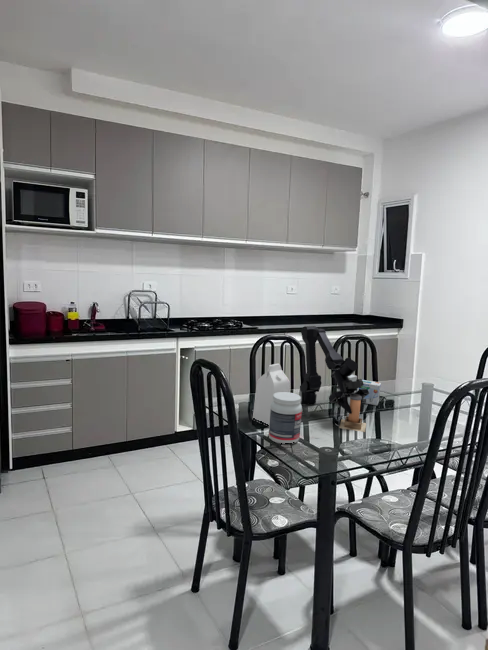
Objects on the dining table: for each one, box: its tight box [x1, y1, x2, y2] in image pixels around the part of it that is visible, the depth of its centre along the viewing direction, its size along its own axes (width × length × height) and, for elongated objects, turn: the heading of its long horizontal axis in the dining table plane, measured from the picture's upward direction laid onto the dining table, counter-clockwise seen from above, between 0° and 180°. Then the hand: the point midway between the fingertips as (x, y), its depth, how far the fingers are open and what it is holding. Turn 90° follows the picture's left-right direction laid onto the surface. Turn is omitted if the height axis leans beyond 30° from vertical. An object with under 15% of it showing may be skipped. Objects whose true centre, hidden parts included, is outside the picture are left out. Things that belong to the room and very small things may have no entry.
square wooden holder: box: [338, 415, 367, 433], centre depth 203 cm, size 11×11×4 cm
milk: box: [252, 363, 291, 425], centre depth 206 cm, size 12×12×26 cm
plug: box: [348, 394, 362, 423], centre depth 202 cm, size 5×5×14 cm
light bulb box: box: [357, 379, 382, 406], centre depth 241 cm, size 11×7×11 cm, turn 68°
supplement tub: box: [268, 391, 303, 445], centre depth 186 cm, size 13×13×18 cm
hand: (356, 412), depth 201 cm, fingers open, 6 cm apart
